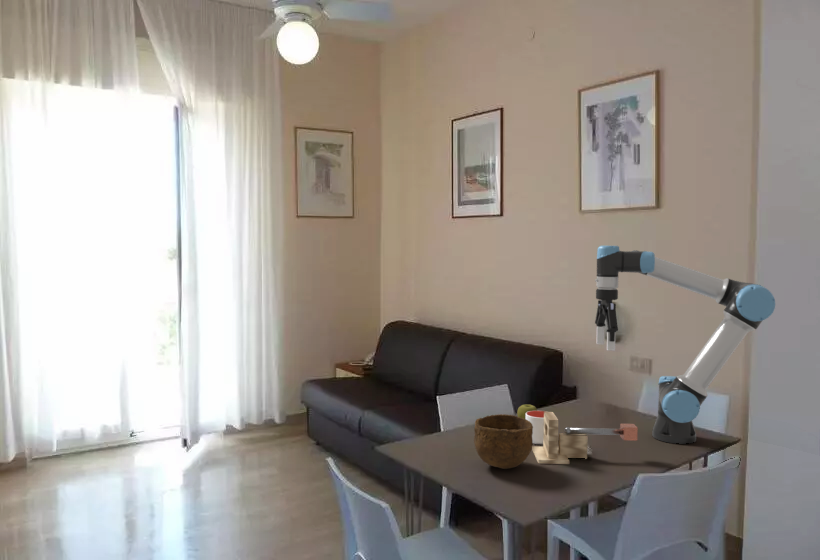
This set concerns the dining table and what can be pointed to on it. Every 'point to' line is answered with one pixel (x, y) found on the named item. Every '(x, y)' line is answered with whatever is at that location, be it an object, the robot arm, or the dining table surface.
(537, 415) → the cup
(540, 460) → the slotted wooden stand
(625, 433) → the metal rod with block
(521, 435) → the bowl
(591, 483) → the dining table surface
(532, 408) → the apple
